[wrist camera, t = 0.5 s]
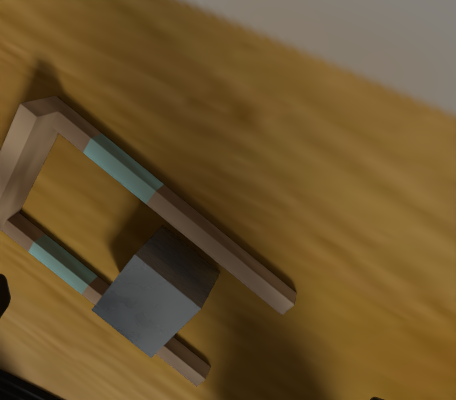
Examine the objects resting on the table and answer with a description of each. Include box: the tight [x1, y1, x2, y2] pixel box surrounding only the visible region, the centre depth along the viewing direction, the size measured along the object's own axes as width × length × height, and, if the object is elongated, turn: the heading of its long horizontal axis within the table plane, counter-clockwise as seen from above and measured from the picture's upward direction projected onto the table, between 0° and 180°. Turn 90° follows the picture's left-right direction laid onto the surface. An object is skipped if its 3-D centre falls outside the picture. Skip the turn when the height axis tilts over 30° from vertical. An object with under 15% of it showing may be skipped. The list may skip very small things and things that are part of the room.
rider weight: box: [92, 225, 220, 357], centre depth 26 cm, size 6×5×4 cm
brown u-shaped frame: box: [0, 96, 297, 386], centre depth 26 cm, size 11×20×3 cm, turn 53°
